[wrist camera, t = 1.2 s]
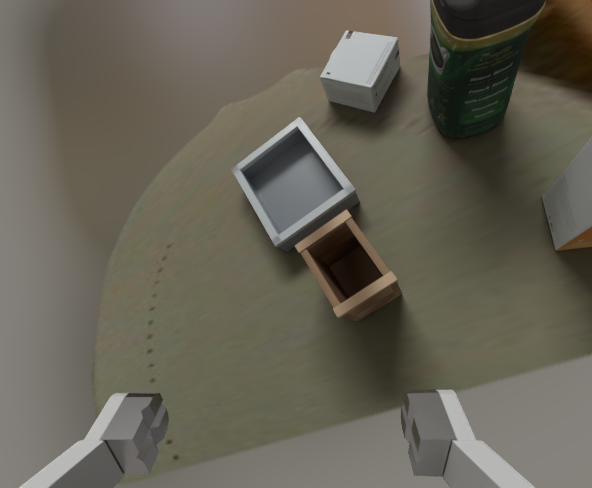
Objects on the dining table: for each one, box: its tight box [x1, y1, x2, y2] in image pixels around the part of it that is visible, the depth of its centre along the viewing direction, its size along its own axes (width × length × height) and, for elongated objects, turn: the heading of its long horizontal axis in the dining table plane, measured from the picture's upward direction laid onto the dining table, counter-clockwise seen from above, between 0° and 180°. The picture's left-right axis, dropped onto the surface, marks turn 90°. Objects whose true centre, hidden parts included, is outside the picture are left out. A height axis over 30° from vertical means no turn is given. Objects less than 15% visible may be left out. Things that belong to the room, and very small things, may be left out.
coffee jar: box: [427, 0, 546, 138], centre depth 33 cm, size 10×8×19 cm
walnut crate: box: [295, 209, 402, 322], centre depth 35 cm, size 6×8×10 cm
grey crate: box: [232, 117, 360, 252], centre depth 44 cm, size 12×14×4 cm
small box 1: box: [320, 31, 400, 113], centre depth 45 cm, size 8×8×5 cm
